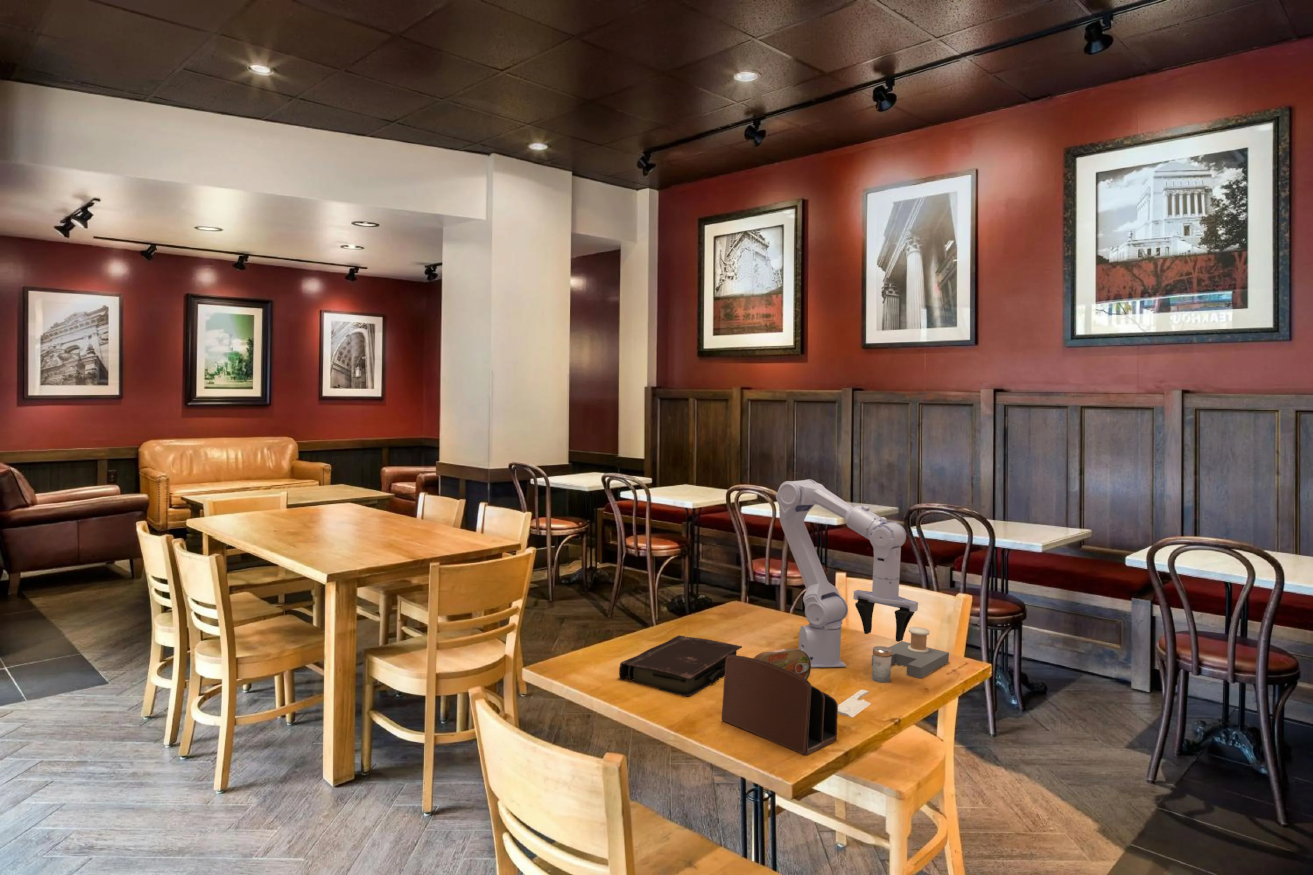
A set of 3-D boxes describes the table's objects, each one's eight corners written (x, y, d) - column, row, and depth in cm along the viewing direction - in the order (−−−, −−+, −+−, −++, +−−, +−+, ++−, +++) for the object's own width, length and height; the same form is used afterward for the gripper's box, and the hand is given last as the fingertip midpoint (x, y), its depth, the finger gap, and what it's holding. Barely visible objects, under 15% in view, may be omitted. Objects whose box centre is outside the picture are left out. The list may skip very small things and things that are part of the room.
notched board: (920, 678, 184) (922, 645, 183) (871, 665, 192) (873, 634, 191) (948, 662, 196) (950, 631, 195) (901, 650, 204) (902, 621, 203)
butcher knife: (883, 699, 172) (884, 694, 171) (854, 720, 160) (855, 715, 160) (860, 692, 175) (861, 687, 175) (830, 713, 163) (831, 708, 163)
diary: (617, 682, 177) (618, 660, 177) (675, 653, 198) (676, 633, 198) (692, 700, 167) (692, 676, 167) (744, 667, 189) (745, 646, 188)
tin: (753, 696, 170) (755, 656, 169) (745, 690, 173) (746, 652, 172) (811, 686, 177) (812, 648, 176) (802, 681, 180) (803, 643, 179)
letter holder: (805, 757, 142) (809, 677, 141) (720, 721, 156) (723, 649, 155) (837, 741, 149) (841, 665, 148) (753, 708, 163) (755, 640, 162)
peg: (876, 682, 180) (877, 651, 180) (868, 676, 184) (869, 646, 184) (893, 682, 181) (895, 651, 180) (885, 676, 185) (887, 645, 184)
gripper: (924, 579, 179) (921, 640, 180) (864, 568, 189) (862, 626, 190) (911, 584, 174) (908, 647, 175) (850, 573, 184) (847, 632, 184)
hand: (883, 636), depth 182 cm, fingers open, 7 cm apart
